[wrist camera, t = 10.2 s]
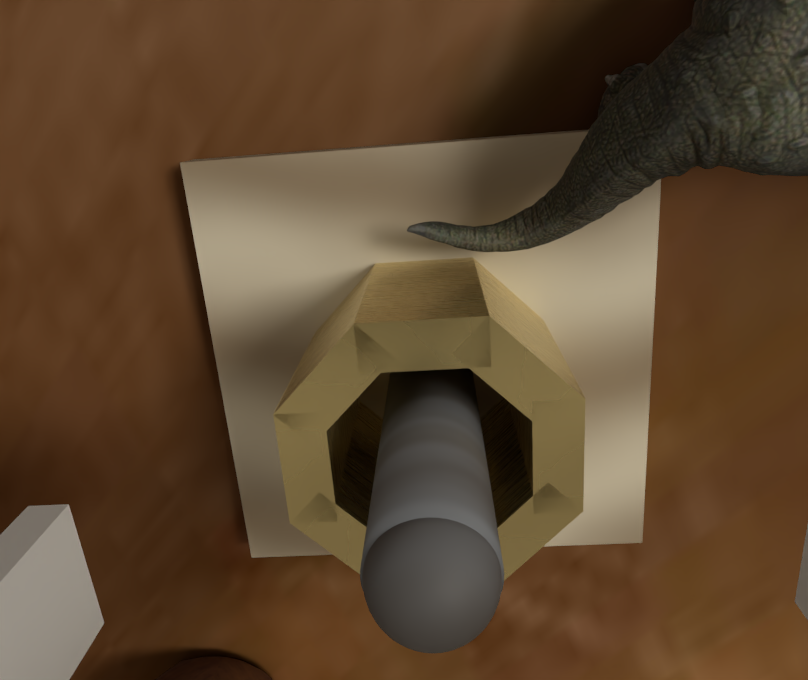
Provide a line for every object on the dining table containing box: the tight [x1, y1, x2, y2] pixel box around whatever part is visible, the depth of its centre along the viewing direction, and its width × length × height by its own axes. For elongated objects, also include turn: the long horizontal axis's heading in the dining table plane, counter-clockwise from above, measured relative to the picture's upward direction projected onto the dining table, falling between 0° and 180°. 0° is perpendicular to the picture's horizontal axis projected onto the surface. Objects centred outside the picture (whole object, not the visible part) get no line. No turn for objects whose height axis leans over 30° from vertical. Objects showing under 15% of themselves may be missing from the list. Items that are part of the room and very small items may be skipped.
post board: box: [180, 129, 661, 653], centre depth 17 cm, size 14×14×12 cm
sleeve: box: [273, 257, 585, 580], centre depth 18 cm, size 7×7×6 cm
